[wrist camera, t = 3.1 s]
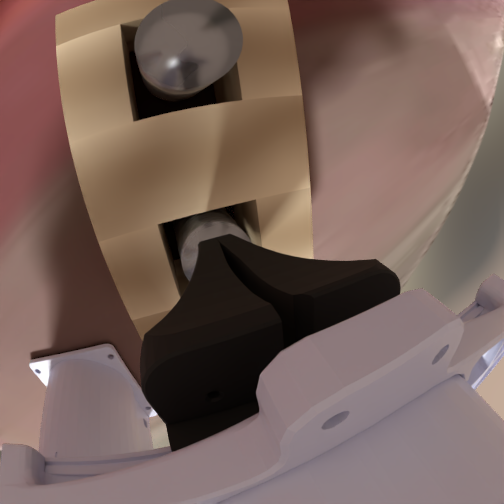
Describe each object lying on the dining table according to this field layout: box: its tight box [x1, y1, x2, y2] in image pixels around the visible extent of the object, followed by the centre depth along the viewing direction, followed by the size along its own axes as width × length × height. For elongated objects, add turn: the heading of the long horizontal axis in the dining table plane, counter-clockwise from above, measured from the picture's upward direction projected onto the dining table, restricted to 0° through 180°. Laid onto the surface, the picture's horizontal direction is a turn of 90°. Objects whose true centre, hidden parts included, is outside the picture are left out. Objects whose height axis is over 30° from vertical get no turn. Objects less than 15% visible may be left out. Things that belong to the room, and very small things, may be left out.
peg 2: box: [173, 207, 252, 281], centre depth 13 cm, size 3×3×4 cm
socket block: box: [56, 0, 313, 341], centre depth 12 cm, size 15×9×4 cm, turn 7°
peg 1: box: [134, 0, 243, 101], centre depth 8 cm, size 3×3×4 cm
